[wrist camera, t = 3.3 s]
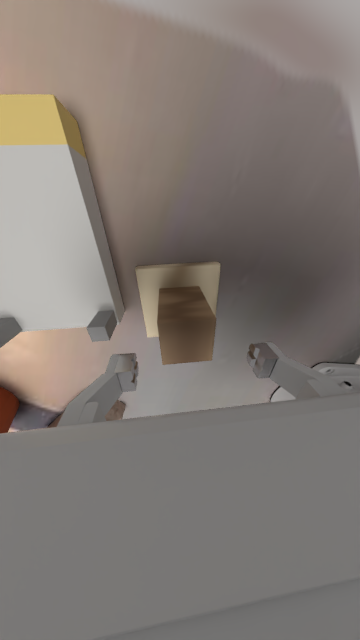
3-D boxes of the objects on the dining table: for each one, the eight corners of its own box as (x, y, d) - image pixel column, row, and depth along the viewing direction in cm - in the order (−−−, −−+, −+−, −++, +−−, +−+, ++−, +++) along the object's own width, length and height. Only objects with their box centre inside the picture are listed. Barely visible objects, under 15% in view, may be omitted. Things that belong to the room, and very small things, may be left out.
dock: (76, 121, 12) (11, 47, 7) (124, 311, 20) (112, 341, 15) (-102, 122, 11) (-325, 41, 6) (26, 318, 20) (-22, 352, 15)
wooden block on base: (216, 261, 18) (251, 288, 11) (211, 325, 23) (232, 374, 16) (137, 265, 18) (119, 297, 11) (148, 330, 23) (141, 382, 15)
